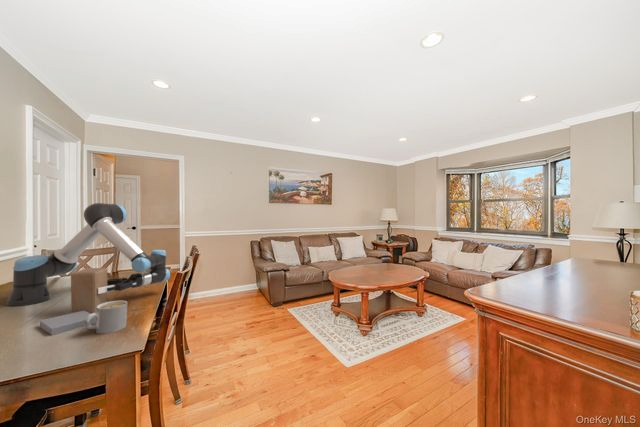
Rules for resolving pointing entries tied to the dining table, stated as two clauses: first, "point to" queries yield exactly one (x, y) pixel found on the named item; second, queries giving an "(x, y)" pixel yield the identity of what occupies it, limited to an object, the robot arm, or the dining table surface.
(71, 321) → the stand
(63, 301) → the dining table surface
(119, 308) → the coffee mug
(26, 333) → the dining table surface
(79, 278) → the block
